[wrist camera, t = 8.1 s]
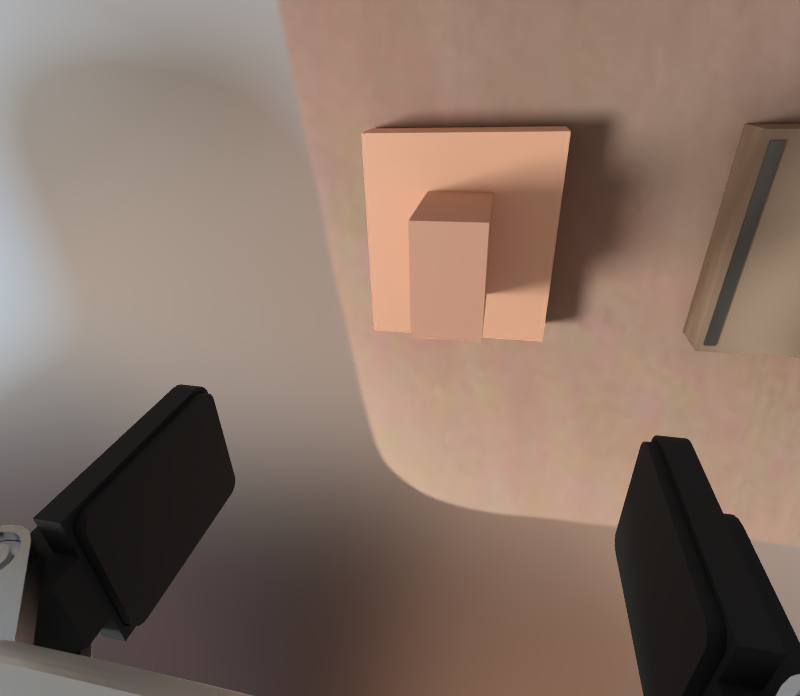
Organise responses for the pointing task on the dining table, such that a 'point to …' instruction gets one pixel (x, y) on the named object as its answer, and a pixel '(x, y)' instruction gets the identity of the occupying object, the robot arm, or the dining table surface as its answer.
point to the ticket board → (754, 252)
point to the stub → (463, 228)
